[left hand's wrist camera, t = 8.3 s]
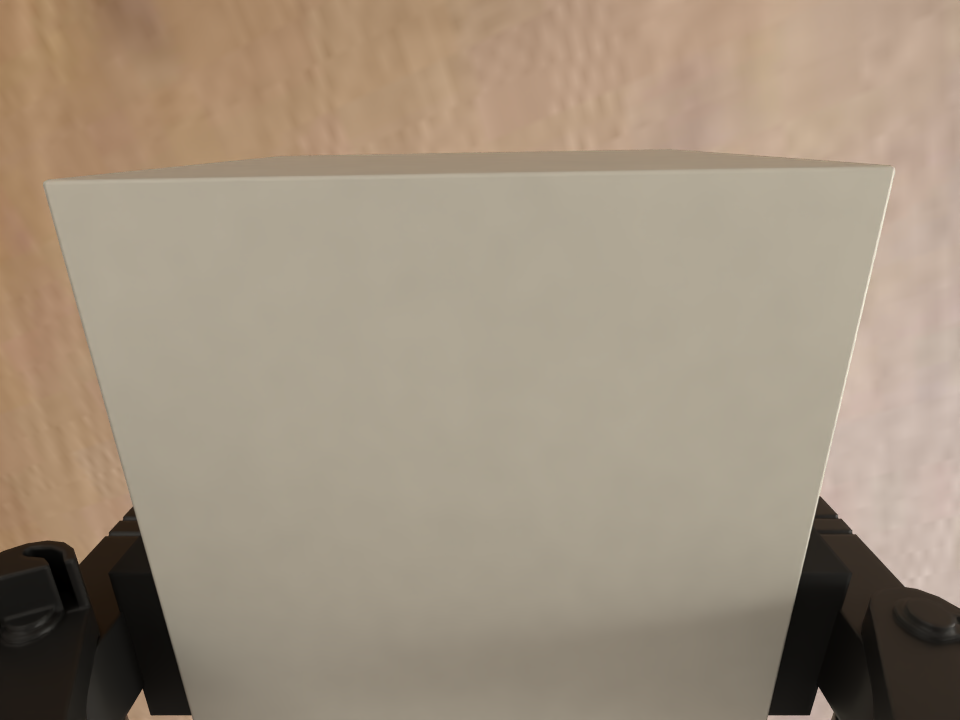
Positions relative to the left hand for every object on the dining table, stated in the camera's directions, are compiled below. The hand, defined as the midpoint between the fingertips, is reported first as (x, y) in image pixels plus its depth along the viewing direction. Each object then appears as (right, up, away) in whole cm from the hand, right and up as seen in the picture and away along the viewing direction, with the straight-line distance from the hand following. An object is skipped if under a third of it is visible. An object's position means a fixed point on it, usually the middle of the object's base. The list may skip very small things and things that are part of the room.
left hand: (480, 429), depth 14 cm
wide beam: (0, -25, +10) cm, 27 cm away
